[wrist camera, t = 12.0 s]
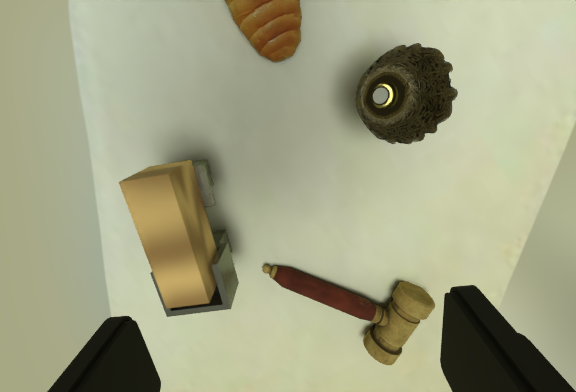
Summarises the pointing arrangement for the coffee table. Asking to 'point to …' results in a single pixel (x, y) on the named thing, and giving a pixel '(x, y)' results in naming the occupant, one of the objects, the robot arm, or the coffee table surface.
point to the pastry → (269, 25)
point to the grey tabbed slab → (204, 181)
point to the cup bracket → (224, 279)
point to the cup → (406, 94)
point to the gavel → (366, 309)
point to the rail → (173, 231)
